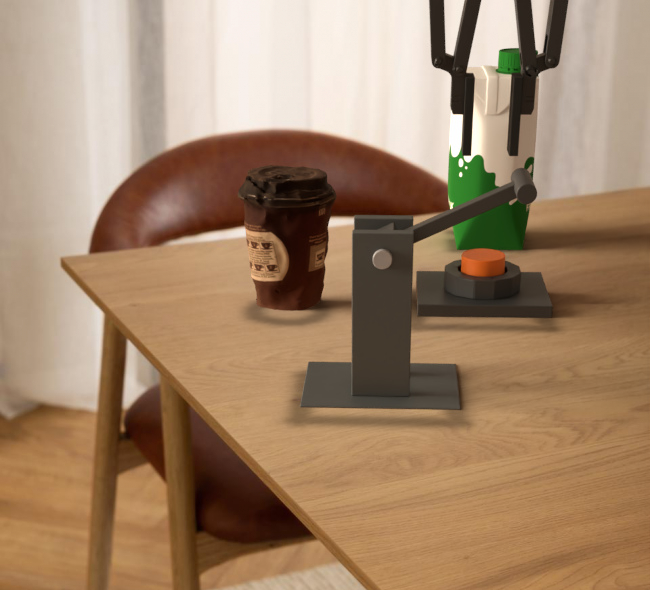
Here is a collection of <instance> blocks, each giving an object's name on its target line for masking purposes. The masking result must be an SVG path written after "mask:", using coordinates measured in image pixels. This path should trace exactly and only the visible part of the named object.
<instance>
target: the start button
mask: <svg viewBox="0 0 650 590" xmlns="http://www.w3.org/2000/svg"><path fill="white" fill-rule="evenodd" d="M460 260H461V272H462V273H464V274H466V275H471V276H480V277H492V276H498V275H503V274H504V271H505V261H506V254H505V253H504V252H503V251H502V250H494V249H484V248H479V249H470V250H463V251H462V252H461V259H460Z"/></svg>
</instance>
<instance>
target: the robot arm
mask: <svg viewBox="0 0 650 590" xmlns="http://www.w3.org/2000/svg"><path fill="white" fill-rule="evenodd" d="M513 3H514V4H513V5H514V14H515V21H516V33H517V43H518V48H519V55H520V65H521V73H512V75H511V91H510V107H509V123H508V139H507V151H508V154H509V156H518V148H519V133H520V118H521V115H531V114H532V112H533V110H534V101H535V87H536V78H537V76H539V74H541V73H542V72H545V71H547V70H550V69H552V70H553V69H556V68H557V67H558V66H559V64H560V61H561V54H562V48H563V40H564V36H565V28H566V20H567V15H568V9H569V8H568V7H569V0H549V5H548V12H547V19H546V27H545V34H544V41H543V48H542V52H541V53H538V55H536V50H537V48H536V37H535V27H534V26H535V25H534V15H533V5H532V3H533V2H532V0H513ZM481 5H482V0H464V1H463V6H462V11H461V15H460V16H461V17H460V21H459V26H458V31H457V36H456V40H455V46H454V50H453V55H452V54H450V53H448V52H446V18H445V13H446V12H445V0H428V9H429V13H428V15H429V38H430V39H429V41H430V42H429V43H430V60H431V65H432V66H433V68H435V69H439V70H441V71H444V72H447V73H448V74H449V75H450V97H449V99H450V100H449V102H450V103H449V107H450V110H451V111H452V114H453V115H463V119H462V141H461V151H462V156H471V149H472V129H473V108H474V88H475V76H474V74H473V73H466V71H467V67H469V61H470V57H471V53H472V52H471V51H472V48H473V42H474V37H475V33H476V28H477V23H478V18H479V14H480V11H481V10H480V9H481Z"/></svg>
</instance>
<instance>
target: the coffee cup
mask: <svg viewBox="0 0 650 590" xmlns="http://www.w3.org/2000/svg"><path fill="white" fill-rule="evenodd" d="M237 197H238V199H240V200H241V201H242V202H243V211H244V221H243V224H244V229H245V239H246V247H247V254H248V259H249V260H248V261H249V268H250V276H251V279H252V282H253V284H254V286H255V287H254V288H255V293H256V299H255V300H256V305H257V306H258V307H260V308H263V309H270V310H274V311H288V312H289V311H290V312H293V311H297V312H298V311H305V310H308V309H311V308H313V307H315V306H317V305H318V304H319V303H320V302H321V301H322V295H323V291H324V287H325V275H326V264H325V261H326V258H327V255H328V251H329V241H330V240H329V239H330V238H329V225H330V224H329V223H330V220H331V216H332V208H333V206H334V204H335V201H336V200H337V193H336V191H335V189H334V187H333V186H332V185H331V184H330V183H328V174H327V172H326V171H325V170H322V169H320V168H313V167H306V166H287V165H275V164H269V165H263V166H259V167H254V168H251V169H248V170H247V176H245V179H244V182H243V184H242V185H241V186H240V187H239V189H238V192H237Z"/></svg>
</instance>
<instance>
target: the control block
mask: <svg viewBox="0 0 650 590" xmlns="http://www.w3.org/2000/svg"><path fill="white" fill-rule="evenodd" d="M415 302H416V317H417V318H419V317H420V318H423V317H425V318H426V317H427V318H496V319H497V318H500V319H501V318H504V319H505V318H506V319H552V318H553V308H554V306H553V304H552V300H551V297H550V295H549V292H548V289H547V286H546V283H545V280H544V277H543V274H542V272H541V271H522V270H521V268H520V266H519V265H517V264H516V263H513V262H510V261H508V260H505V271H504V274H503V275H498V276H492V277H480V276H471V275H466V274H464V273H462V272H461V259H457V260H453V261H451V262H449V263H447V264H445V265H444V270H416V271H415Z"/></svg>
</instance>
